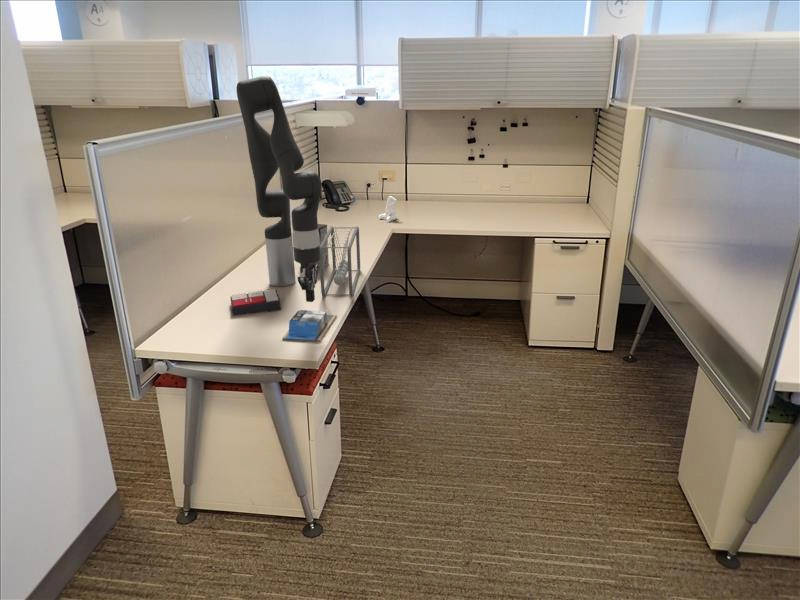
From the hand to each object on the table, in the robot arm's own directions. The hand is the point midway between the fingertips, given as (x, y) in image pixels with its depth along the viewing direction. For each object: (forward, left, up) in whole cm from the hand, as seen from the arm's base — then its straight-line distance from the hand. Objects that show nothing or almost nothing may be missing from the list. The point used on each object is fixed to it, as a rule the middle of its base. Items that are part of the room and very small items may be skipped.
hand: (310, 300), depth 169 cm
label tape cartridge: (-2, 0, -6) cm, 6 cm away
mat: (+1, 0, -8) cm, 8 cm away
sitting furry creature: (-134, 0, -8) cm, 134 cm away
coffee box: (-57, -16, -8) cm, 60 cm away
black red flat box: (-13, -23, -9) cm, 27 cm away
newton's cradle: (-38, -1, -9) cm, 39 cm away
